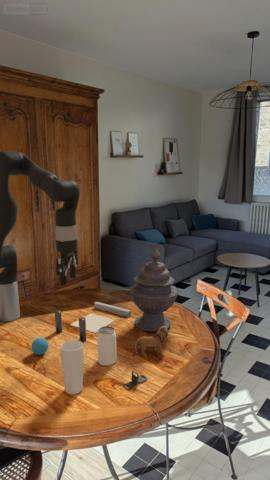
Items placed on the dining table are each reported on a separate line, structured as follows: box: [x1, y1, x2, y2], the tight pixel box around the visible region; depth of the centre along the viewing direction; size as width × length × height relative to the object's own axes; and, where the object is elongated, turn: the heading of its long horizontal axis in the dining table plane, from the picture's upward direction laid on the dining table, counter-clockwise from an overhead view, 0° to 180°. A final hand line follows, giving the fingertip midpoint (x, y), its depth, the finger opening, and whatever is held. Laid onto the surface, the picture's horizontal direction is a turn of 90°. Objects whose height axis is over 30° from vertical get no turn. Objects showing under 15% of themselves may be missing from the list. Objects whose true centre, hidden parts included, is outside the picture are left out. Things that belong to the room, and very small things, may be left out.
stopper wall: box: [93, 301, 132, 318], centre depth 162 cm, size 20×2×2 cm, turn 57°
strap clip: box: [122, 369, 149, 391], centre depth 109 cm, size 8×3×4 cm, turn 130°
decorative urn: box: [129, 247, 179, 333], centre depth 145 cm, size 20×20×35 cm
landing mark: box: [70, 312, 116, 334], centre depth 151 cm, size 14×14×1 cm
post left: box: [54, 309, 63, 334], centre depth 142 cm, size 3×3×9 cm
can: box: [96, 325, 117, 367], centre depth 120 cm, size 6×6×12 cm
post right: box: [78, 316, 87, 343], centre depth 135 cm, size 3×3×9 cm
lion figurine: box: [131, 326, 169, 357], centre depth 126 cm, size 15×5×9 cm, turn 116°
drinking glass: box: [60, 339, 85, 395], centre depth 104 cm, size 7×7×15 cm
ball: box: [31, 337, 49, 356], centre depth 126 cm, size 6×6×6 cm
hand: (68, 281), depth 125 cm, fingers open, 8 cm apart
